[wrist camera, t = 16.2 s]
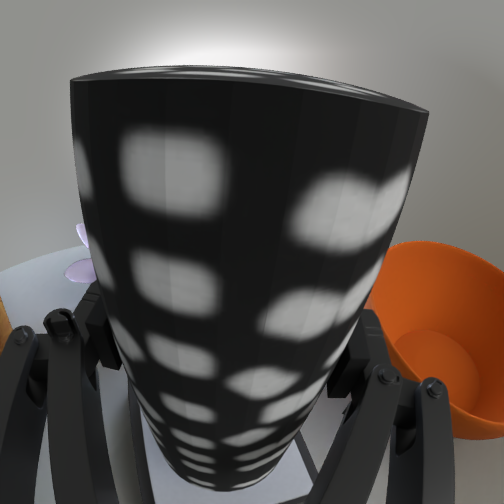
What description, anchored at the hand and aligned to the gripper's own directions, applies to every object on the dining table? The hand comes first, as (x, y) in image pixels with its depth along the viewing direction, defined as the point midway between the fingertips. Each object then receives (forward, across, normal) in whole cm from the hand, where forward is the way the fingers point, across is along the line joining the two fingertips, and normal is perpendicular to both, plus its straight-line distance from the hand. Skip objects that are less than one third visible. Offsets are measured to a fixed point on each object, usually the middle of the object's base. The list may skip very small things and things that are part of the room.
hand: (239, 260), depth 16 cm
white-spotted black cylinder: (-5, 0, -11) cm, 12 cm away
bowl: (+5, +23, -17) cm, 29 cm away
